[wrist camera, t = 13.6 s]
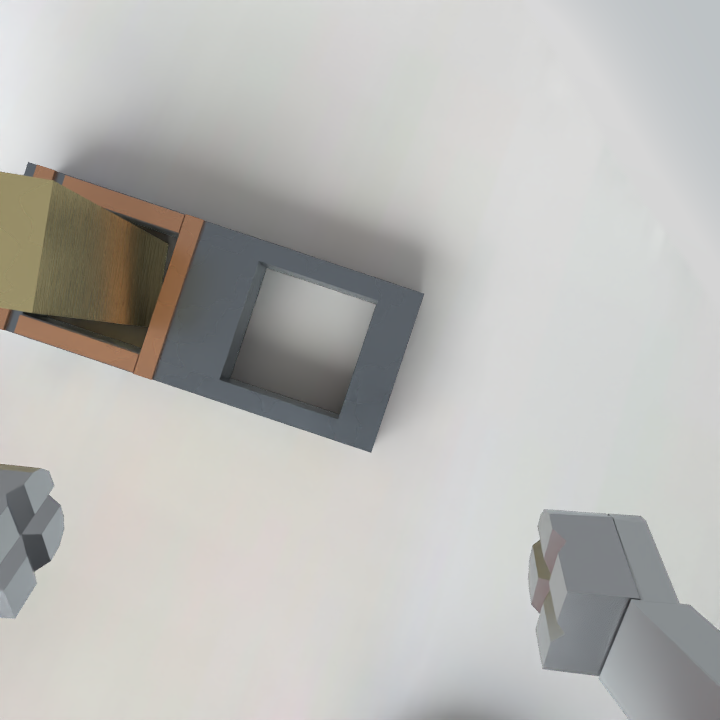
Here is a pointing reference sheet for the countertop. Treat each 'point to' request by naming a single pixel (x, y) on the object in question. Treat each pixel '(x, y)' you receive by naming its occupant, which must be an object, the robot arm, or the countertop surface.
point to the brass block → (74, 256)
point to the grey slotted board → (233, 319)
